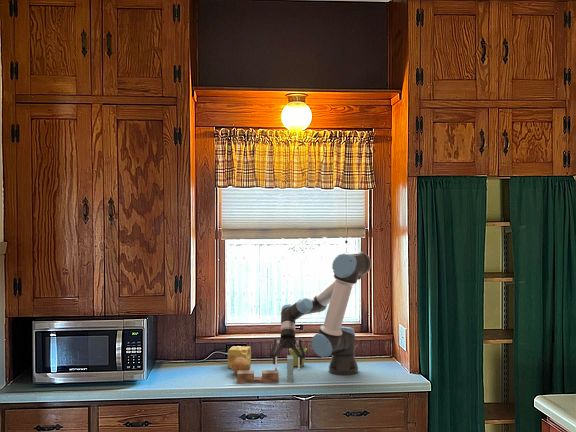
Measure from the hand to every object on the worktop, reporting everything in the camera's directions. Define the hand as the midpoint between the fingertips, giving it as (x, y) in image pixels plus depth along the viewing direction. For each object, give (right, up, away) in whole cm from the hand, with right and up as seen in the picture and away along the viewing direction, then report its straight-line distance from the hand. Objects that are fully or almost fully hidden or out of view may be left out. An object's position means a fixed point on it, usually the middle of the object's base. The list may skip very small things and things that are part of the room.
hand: (287, 369), depth 324 cm
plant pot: (+6, -5, +29) cm, 30 cm away
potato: (-23, -5, +10) cm, 26 cm away
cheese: (-26, -5, +28) cm, 38 cm away
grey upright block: (+1, -5, +1) cm, 5 cm away
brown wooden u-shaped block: (-14, -5, -3) cm, 15 cm away
